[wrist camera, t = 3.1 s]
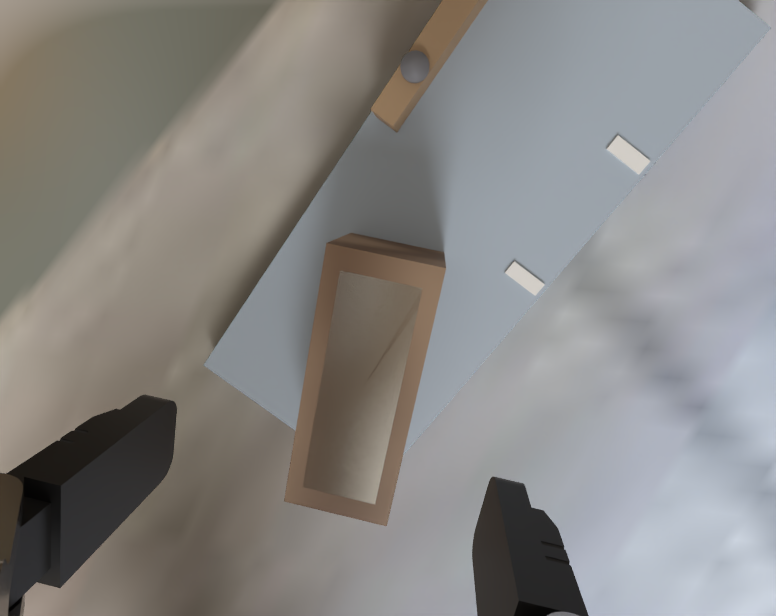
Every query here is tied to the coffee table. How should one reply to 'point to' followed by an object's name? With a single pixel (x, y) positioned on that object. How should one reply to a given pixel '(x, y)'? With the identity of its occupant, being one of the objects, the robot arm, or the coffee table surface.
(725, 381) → the coffee table surface
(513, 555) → the robot arm
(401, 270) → the walnut frame
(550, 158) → the wall panel
